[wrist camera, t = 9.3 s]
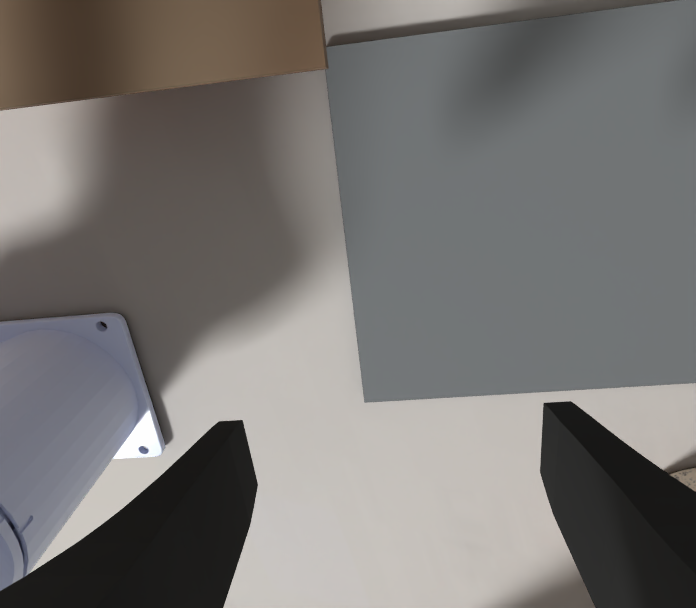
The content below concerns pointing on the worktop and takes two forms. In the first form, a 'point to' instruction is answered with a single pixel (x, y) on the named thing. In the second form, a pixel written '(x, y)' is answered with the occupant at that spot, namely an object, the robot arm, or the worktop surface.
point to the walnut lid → (149, 45)
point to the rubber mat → (521, 203)
